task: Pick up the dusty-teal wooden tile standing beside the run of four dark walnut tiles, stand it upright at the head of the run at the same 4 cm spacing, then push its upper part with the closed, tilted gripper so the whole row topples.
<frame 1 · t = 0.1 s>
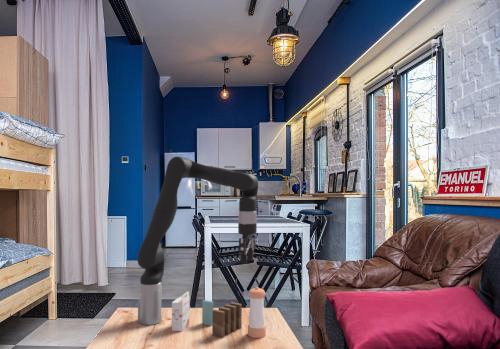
hand: (247, 261, 157), 29 cm above the table, tool pointing down, fingers open, 8 cm apart
walnut tile 4: (224, 333, 157), on the table
teal tile: (207, 324, 167), on the table
pepper shaker: (256, 335, 155), on the table
ink cartridge box: (180, 328, 163), on the table
walnut tile 2: (235, 327, 163), on the table
walnut tile 5: (218, 336, 153), on the table
walnut tile 3: (230, 329, 160), on the table
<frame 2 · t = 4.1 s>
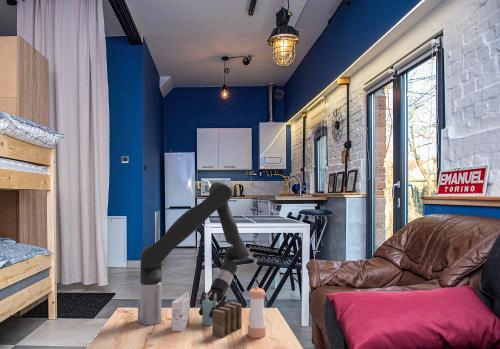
hand: (205, 315, 165), 4 cm above the table, tool tilted 45°, fingers closed on teal tile, 5 cm apart
teal tile: (207, 324, 167), on the table, touching gripper
everything else where it was.
when the fingers open (5 cm above the table, at t = 10.3 s): teal tile stays where it is, on the table.
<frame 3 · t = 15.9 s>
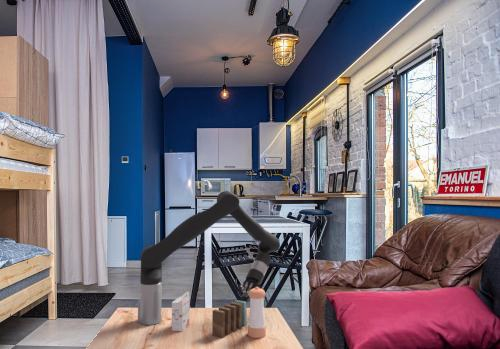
hand: (242, 305, 168), 8 cm above the table, tool tilted 45°, fingers closed
teal tile: (241, 324, 167), on the table, touching gripper
everything else where it was.
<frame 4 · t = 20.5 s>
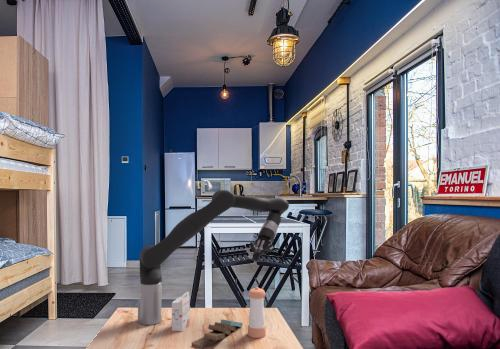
hand: (254, 260, 177), 26 cm above the table, tool tilted 45°, fingers closed
walnut tile 4: (218, 333, 152), point 2 cm above the table, tilted 76°, touching walnut tile 3, walnut tile 5
teal tile: (237, 323, 165), point 1 cm above the table, tilted 70°
walnut tile 2: (230, 328, 160), point 1 cm above the table, tilted 66°, touching walnut tile 3
walnut tile 5: (213, 337, 151), on the table, tilted 90°, touching walnut tile 4
walnut tile 3: (225, 331, 156), point 1 cm above the table, tilted 63°, touching walnut tile 2, walnut tile 4
everything else where it was.
at the end: walnut tile 5 tilted 90°; teal tile tilted 70°; teal tile 5.6 cm from the walnut tile 2 (horizontally) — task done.
